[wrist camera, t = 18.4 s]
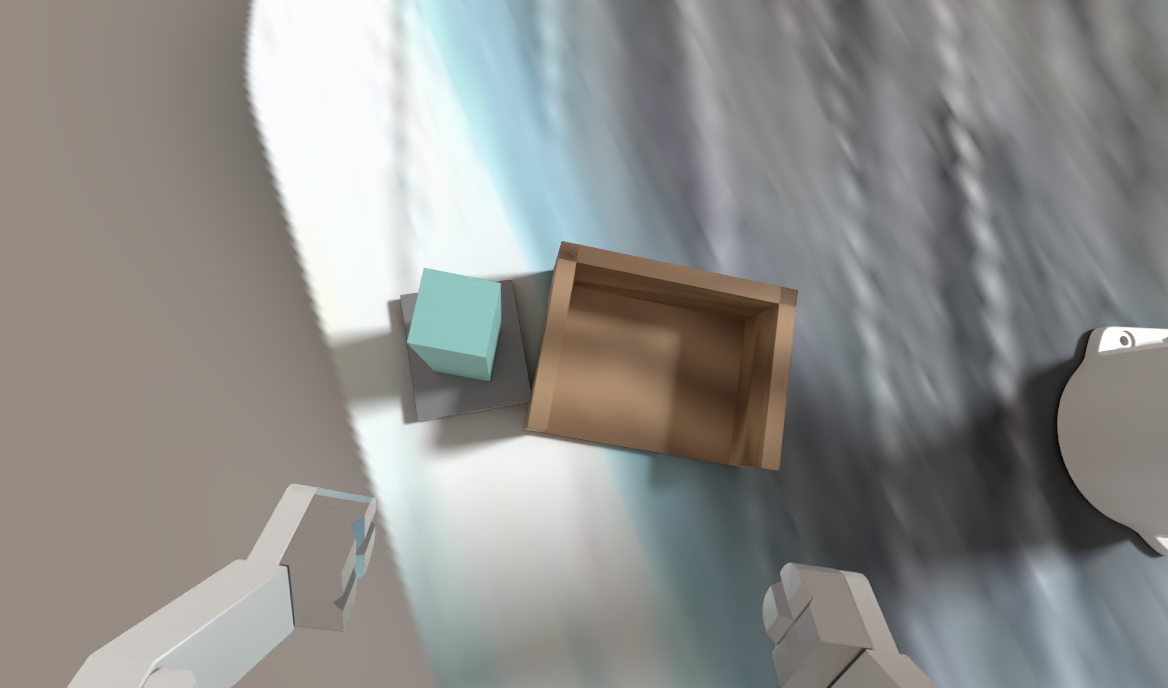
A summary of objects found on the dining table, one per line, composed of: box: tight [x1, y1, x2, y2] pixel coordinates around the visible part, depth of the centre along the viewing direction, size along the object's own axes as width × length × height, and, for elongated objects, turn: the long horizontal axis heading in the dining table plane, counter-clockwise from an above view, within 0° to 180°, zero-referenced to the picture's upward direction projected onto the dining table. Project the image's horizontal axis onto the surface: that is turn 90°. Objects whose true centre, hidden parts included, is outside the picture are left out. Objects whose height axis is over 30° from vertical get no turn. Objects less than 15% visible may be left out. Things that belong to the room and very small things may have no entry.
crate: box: [524, 241, 798, 471], centre depth 42 cm, size 12×16×6 cm
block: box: [407, 268, 501, 381], centre depth 36 cm, size 4×4×12 cm
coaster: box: [400, 280, 531, 421], centre depth 43 cm, size 8×9×1 cm
